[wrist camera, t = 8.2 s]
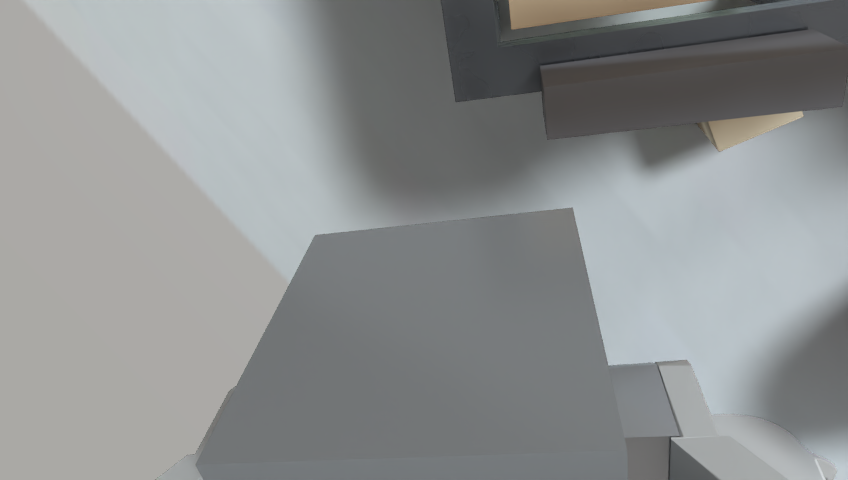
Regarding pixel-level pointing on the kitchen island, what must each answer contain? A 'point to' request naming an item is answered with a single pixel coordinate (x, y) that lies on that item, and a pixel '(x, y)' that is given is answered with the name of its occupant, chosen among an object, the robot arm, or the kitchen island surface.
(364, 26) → the kitchen island surface
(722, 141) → the beech block
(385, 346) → the grey block
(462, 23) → the frame
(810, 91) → the trapdoor
